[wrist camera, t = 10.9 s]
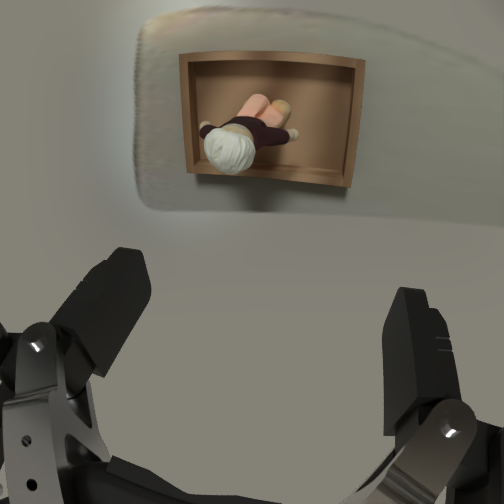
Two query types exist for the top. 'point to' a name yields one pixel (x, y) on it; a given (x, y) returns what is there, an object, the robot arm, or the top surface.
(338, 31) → the top surface
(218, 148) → the grandmother figurine
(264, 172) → the walnut tray
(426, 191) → the top surface
